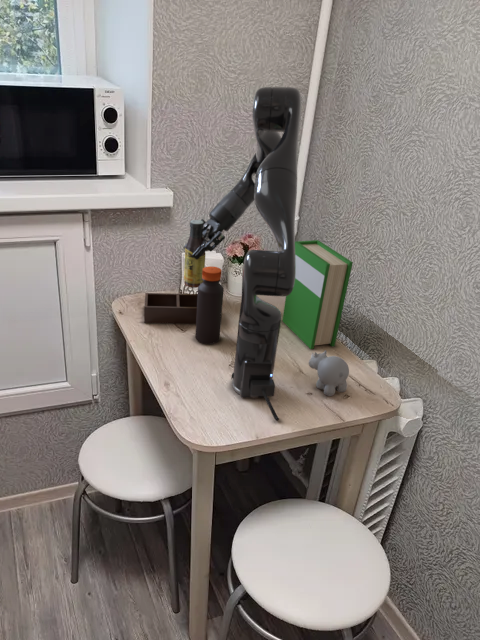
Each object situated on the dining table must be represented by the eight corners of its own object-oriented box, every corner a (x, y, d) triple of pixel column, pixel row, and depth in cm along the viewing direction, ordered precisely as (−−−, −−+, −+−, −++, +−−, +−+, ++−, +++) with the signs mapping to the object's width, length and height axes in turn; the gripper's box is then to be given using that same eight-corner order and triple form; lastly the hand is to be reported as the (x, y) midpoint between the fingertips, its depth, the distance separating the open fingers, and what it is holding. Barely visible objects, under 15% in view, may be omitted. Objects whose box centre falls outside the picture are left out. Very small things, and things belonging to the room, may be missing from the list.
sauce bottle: (180, 282, 165) (181, 219, 154) (198, 280, 167) (200, 217, 156) (189, 290, 160) (190, 225, 149) (207, 287, 162) (210, 223, 151)
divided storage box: (211, 324, 152) (212, 308, 149) (144, 323, 151) (144, 307, 148) (208, 309, 160) (209, 294, 158) (145, 308, 159) (145, 292, 157)
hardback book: (334, 346, 144) (352, 262, 131) (310, 349, 142) (326, 264, 129) (304, 318, 158) (318, 240, 145) (282, 320, 156) (294, 241, 143)
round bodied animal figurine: (321, 369, 134) (327, 339, 129) (350, 393, 124) (358, 363, 120) (297, 374, 131) (302, 344, 126) (325, 399, 122) (332, 368, 117)
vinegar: (206, 347, 140) (211, 276, 130) (190, 337, 145) (193, 268, 134) (224, 340, 144) (230, 270, 133) (208, 330, 148) (212, 263, 138)
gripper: (210, 196, 158) (173, 238, 160) (231, 209, 147) (191, 254, 149) (225, 213, 163) (188, 253, 165) (246, 226, 152) (207, 269, 154)
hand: (190, 253), depth 157 cm, fingers closed on sauce bottle, 6 cm apart
